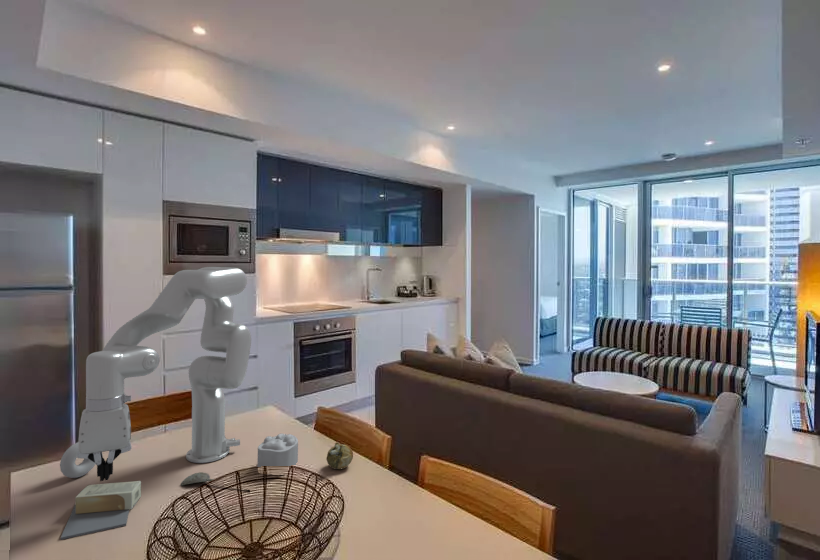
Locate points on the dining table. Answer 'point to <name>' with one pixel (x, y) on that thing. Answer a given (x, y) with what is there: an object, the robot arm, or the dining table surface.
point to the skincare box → (108, 497)
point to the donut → (69, 464)
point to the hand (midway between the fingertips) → (105, 478)
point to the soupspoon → (196, 478)
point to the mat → (93, 522)
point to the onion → (339, 456)
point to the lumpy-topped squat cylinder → (278, 451)
